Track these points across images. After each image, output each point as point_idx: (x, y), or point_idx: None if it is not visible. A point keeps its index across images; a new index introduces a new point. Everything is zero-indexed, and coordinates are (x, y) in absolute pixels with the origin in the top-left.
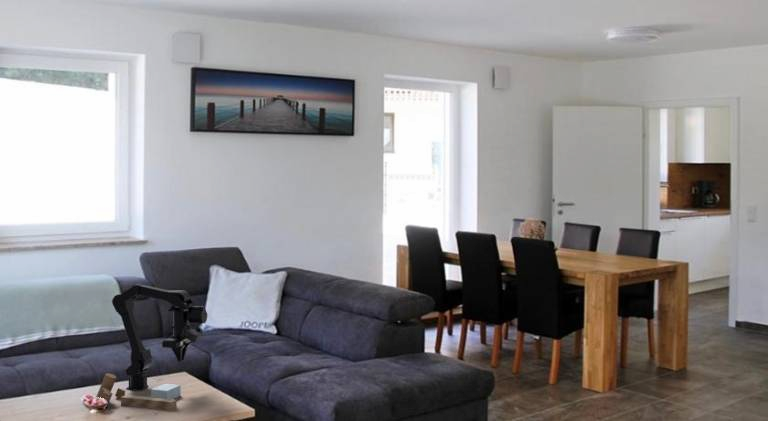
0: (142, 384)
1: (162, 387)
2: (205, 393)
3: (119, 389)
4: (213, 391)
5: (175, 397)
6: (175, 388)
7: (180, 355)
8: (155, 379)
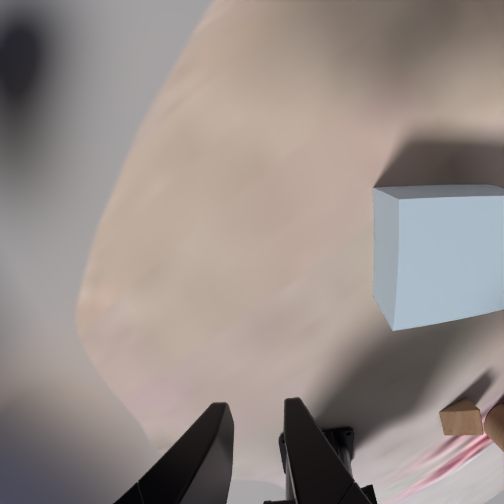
0: (335, 445)
1: (479, 278)
2: (252, 70)
3: (481, 427)
4: (187, 58)
5: (426, 185)
6: (454, 195)
7: (342, 466)
8: None
